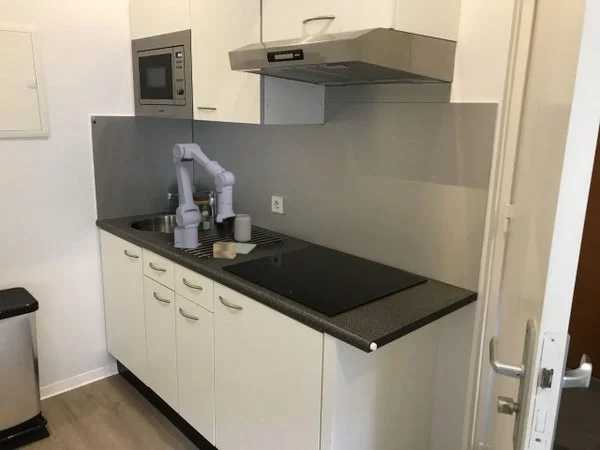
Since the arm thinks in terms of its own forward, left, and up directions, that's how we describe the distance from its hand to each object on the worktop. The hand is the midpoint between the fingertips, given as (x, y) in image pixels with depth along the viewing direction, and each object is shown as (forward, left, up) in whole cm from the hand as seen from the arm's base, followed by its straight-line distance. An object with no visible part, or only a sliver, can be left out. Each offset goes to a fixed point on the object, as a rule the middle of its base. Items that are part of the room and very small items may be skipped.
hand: (225, 236), depth 195 cm
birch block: (0, 0, -9) cm, 9 cm away
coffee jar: (-28, +43, -9) cm, 52 cm away
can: (-1, +27, -9) cm, 28 cm away
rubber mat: (0, +13, -8) cm, 15 cm away
